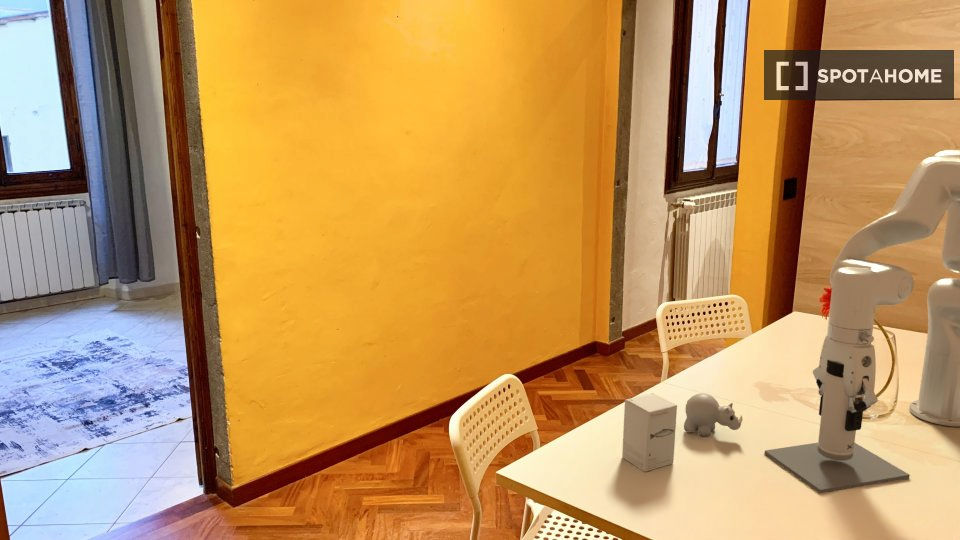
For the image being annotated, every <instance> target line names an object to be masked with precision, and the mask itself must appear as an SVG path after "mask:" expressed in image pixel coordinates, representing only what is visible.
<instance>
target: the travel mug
mask: <svg viewBox="0 0 960 540" xmlns="http://www.w3.org/2000/svg"><path fill="white" fill-rule="evenodd" d="M843 373H844V365H843V364H838V363H836V362H831V361H829V360H827V368H826V375H825V384H824V394H823V403H822V412H821V416H820V424H819V433H818V434H819V435H818V442H819V443H818V442H817V443H818V452H819V453H820V454H821V455H823V456H825V457H827V458H829V459H833V460H841V461H843V460H849V459H851V458H852V457H853V451H854V443H856V433H857V430H855V431H846V430H845V422H846V414H847V411H849V410H850V408H849V402H848V396H847V395H845V394H844V382H843V380H844V378H843ZM857 394H859V392H857ZM855 403H856V404H857V403H859V402H858V398H855Z"/></svg>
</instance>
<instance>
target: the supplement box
mask: <svg viewBox="0 0 960 540" xmlns="http://www.w3.org/2000/svg"><path fill="white" fill-rule="evenodd" d="M677 410H678V404H676V403H673V402H671V401H670V400H668V399H665V398H664V397H662V396H659V395H657V394H655V393H649V394H644V395H640V396H635V397H632V398H631V397H630V398H627V399H624V412H623V413H624V415H623V435H622V437H623V438H622V451H621V452H622V458H623V459H625V460H626V461H627V462H630V463H631V464H632V465H633V466H635V467H636V468H639V469H640V470H641V471H643V473H646V472H648V471H651V470H655V469H658V468H662V467H666V466H668V465H673V464H674V456H675V446H676V445H675V443H676V440H675V439H676V429H677V428H676V426H677V425H676V424H677V415H678V414H677V413H678V411H677Z"/></svg>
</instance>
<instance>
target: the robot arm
mask: <svg viewBox="0 0 960 540" xmlns="http://www.w3.org/2000/svg"><path fill="white" fill-rule="evenodd" d="M945 214H946V221H945V228H944V236H943V240H942V241H943V243H942V251H941V262H942V263H941V264H942V265H943V267H944V268H945V269H946V270H948V271H950V272H953V273H956V274H960V149H946V150H941V151H938V152H937V153H935V154H934V155H932V156H930V157H927V158H925V159H923V160H921V161H920V163H918V165H916V167H915V169H914V171H913V173H912V174H911V176H910V177H909V179H908V181H907V183H906V185H905V186H904V188H903V189H902V191H901V193H900V195H899V196H898V198H897V199H896V202H895V203H894V205H893V207H892V208H891V210H890V211H889V213H887V214H886V215H883V216H882V217H880V218H878V219H875V220H874V221H872V222H870V223H869V224H866V225H865V226H864V227H862V228H860V229H859V230H857V231H856V232H855V233H854V234H853V235H851V236H850V237H849V238H848V239H847V241H846V242H845V243H844V245H843V246H842V248H841V250H840V252H839V253H838V255H837V257H836V258H835V260H834V263H833V264H832V268H831V270H830V272H829V273H830V274H829V283H830V286H831V294H830V303H829V313H828V323H827V334H825V337H824V341H823V344H822V347H821V352H820V356H819V363H818V366H816V367H815V368H814V369H813V370H812V374H813V377H814V379H815V380H816V386H817V388H818V395H819V396H820V399H819V409H818V415H819V416H820V417H821V412H822V403H823V394H824V384H825V375H826V368H827V360H829V361H831V362H836V363H838V364H843V365H844V373H843V378H844V380H843V382H844V394H845V395H847V396H848V402H849V408H850V410H849V411H847V414H846V422H845V430H846V431H855V430H856V431H860V430H861V429H862V425H863V424H862V423H863V415H864V412H866V411H867V410H868V409H869V408H871V407H872V406H874V405H875V404H876V403H878V401H879V399H878V397H877V395H876V393H875V387H876V386H875V385H876V372H877V371H876V366H877V363H876V359H877V358H876V350H875V345H873V344H872V343H873V342H874V341H875V337H874V336H873V331H874V324H875V313H876V307H877V306H896V305H898V304H901V303H904V301H907V300H908V299H909V297H910V296H911V294H912V292H913V290H914V287H915V286H914V285H915V283H914V278H913V275H912V274H911V272H910V271H908V270H907V269H905V268H904V267H902V266H899V265H893V264H888V263H883V262H879V261H873V260H868V258H869V257H871V255H873V254H874V253H876V252H878V251H881V250H883V249H885V248H889V247H892V246H897V245H903V244H907V243H911V242H912V243H913V242H916V241H920V240H924V239H926V238H929V237H930V236H932V235H933V234H934V233H935V232H936V230H937V228H938V226H939V225H940V223H941V222H942V219H943V217H944V215H945ZM926 298H927V299H926V300H927V301H926V303H927V304H926V305H927V306H926V307H927V316H928V317H927V318H928V325H927V334H926V335H927V336H926V344H925V349H924V356H923V357H924V358H923V365H922V372H921V380H920V386H919V393H918V400H914V401H912V402H910V403H909V409H908V410H909V412H910V413H911V414H912V415H913V416H914V417H916V418H919V419H921V420H923V421H925V422H929V423H933V424H936V425H941V426H945V427H947V426H948V427H960V278H954V277H945V278H941V279H938V280H936V281H934V282H933V283H932V284H931V285H930V287H929V289H928V292H927V297H926ZM857 392H859V394H857ZM855 398H858V402H859V403H857V404H856V403H855Z"/></svg>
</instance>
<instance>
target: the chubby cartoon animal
mask: <svg viewBox="0 0 960 540" xmlns="http://www.w3.org/2000/svg"><path fill="white" fill-rule="evenodd" d="M733 405H734V404H733V402H731V403H729V404H728V405H723V406H720V403H719V402H718V400H716V398H715V397H713V396H712V395H711V394H707V393H696V394H694V395H692V396H691V397H690V398H689V399H688V400H687V401H686V404H685V410H684V411H685V415H686V418H685V420H684V424H683V430H684V431H686V432H688V433H695V432H696V431H697V433H698V435H700V436H701V437H710V435H711V432H713V431H715V429H716V424H719V425H720V426H723V427H724V426H725V427H728V428H729V429H730V430H732V431H737V430H739V429H740V428H741V425H742V422H743V415H740V417H738V416H737V415H735V413H736V412H735V410H734V409H733Z"/></svg>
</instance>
